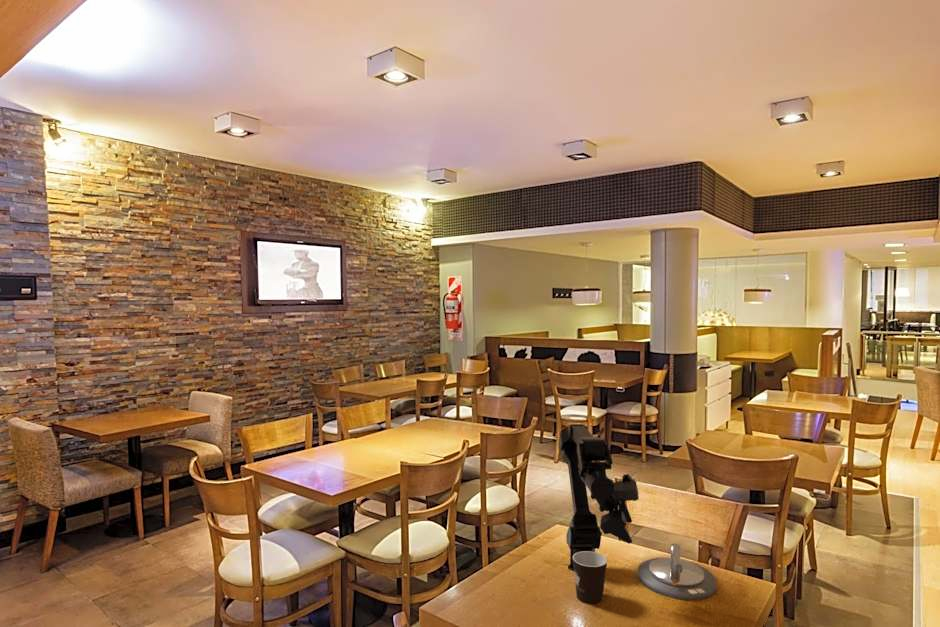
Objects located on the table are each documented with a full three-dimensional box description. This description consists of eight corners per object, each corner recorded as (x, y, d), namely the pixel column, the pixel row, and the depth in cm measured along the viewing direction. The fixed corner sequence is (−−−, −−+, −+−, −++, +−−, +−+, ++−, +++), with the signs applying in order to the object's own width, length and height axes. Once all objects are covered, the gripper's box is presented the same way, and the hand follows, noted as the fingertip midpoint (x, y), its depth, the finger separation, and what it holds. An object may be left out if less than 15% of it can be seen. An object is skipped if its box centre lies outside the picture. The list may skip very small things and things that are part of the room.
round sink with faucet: (651, 558, 161) (651, 523, 160) (704, 567, 155) (704, 531, 155) (646, 584, 146) (646, 545, 146) (704, 595, 140) (704, 555, 140)
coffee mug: (607, 608, 137) (607, 568, 137) (571, 604, 139) (572, 564, 139) (605, 585, 149) (606, 547, 149) (572, 581, 151) (573, 544, 150)
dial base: (628, 585, 149) (628, 579, 149) (649, 556, 165) (649, 551, 165) (708, 608, 138) (708, 601, 138) (722, 575, 154) (722, 568, 154)
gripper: (624, 490, 136) (660, 542, 137) (625, 454, 154) (656, 501, 155) (585, 508, 140) (620, 558, 141) (590, 471, 158) (620, 516, 158)
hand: (630, 532), depth 149 cm, fingers open, 9 cm apart
